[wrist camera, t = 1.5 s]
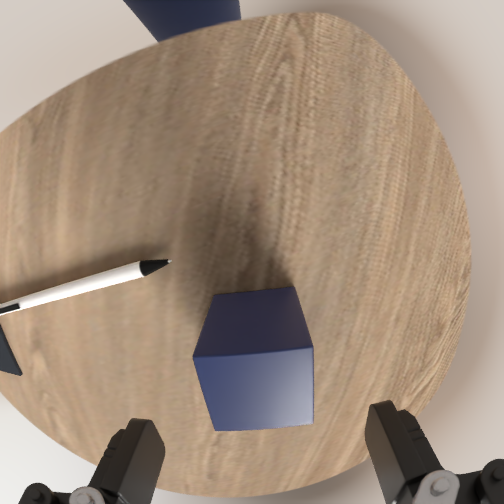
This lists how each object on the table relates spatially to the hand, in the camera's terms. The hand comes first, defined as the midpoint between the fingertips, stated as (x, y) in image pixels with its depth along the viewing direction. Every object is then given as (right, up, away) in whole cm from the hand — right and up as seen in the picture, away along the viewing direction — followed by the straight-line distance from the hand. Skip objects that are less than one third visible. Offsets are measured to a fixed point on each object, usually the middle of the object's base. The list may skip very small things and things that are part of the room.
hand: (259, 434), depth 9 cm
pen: (-14, +4, +7) cm, 16 cm away
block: (0, +2, +8) cm, 8 cm away
